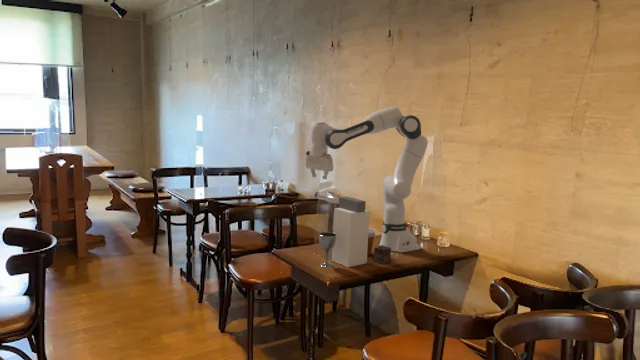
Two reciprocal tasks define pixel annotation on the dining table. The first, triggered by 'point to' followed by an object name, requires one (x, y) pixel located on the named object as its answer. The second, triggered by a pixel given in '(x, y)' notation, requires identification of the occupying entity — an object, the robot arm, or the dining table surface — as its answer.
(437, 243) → the dining table surface
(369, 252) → the disposable coffee cup
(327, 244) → the wine glass
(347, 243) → the stand
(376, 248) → the box
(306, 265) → the dining table surface
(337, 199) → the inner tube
